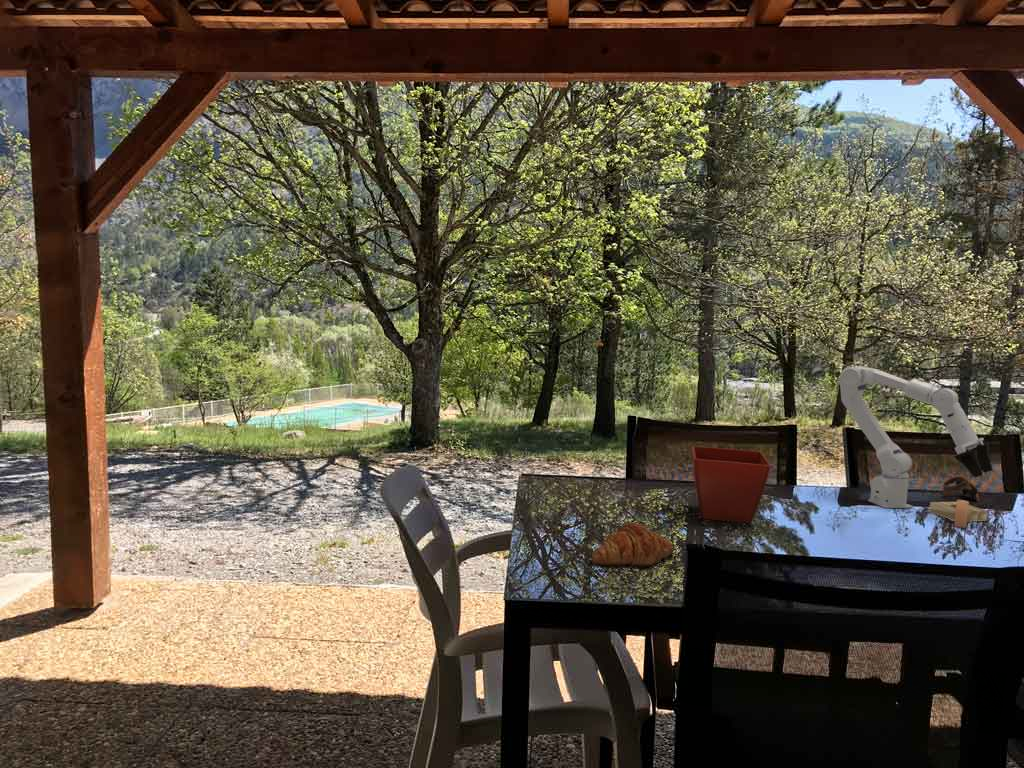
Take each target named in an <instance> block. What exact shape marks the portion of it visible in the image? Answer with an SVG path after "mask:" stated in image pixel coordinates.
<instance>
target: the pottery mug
mask: <svg viewBox="0 0 1024 768" xmlns="http://www.w3.org/2000/svg"><path fill="white" fill-rule="evenodd" d="M953 483H955V484H954V485H951V484H953ZM942 487H943V488H942V495H943V497H946V495H955V494H960V495H967V494H968V498H969V499H975V501H976V502H977V501H979V502H980V497H979V491H978V488H977V486H976V485H975V484H974V482H973V481H971V480H969V479H968V478H967V477H966V476H963V475H959V476H957V475H956V476H953V477H950V478H948V479H947V480H945V481H944V482H943V485H942Z"/></svg>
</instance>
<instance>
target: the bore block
mask: <svg viewBox="0 0 1024 768" xmlns="http://www.w3.org/2000/svg"><path fill="white" fill-rule="evenodd" d="M956 505H957V501H930V502H929V511H928V512H929V513H930V512H931V513H930V514H933V513H934V515H936V514H937V515H936V516H938V515H940V516H939V517H941V516H943V517H942V518H944V517H945V518H944V519H946V518H948V519H947V520H949V519H950V521H952V522H954V521H955V514H956ZM988 514H989V513H988V510H985V509H982V508H979V507H976V506H974V505H970V504H969V506H968V515H967V523H973V522H972V521H987V519H988Z"/></svg>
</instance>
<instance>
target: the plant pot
mask: <svg viewBox="0 0 1024 768" xmlns="http://www.w3.org/2000/svg"><path fill="white" fill-rule="evenodd" d="M691 454H692V455H691V456H692V468H693V478H694V485H695V491H696V498H697V504H698V509H699V513H700V517H701V518H702V519H706V520H715V521H722V522H723V521H724V522H734V523H742V522H745V524H751V523H752V521H753V519H754V516H755V515H756V512H757V510H758V509H759V508H758V507H759V505H760V503H761V501H762V497H763V494H764V491H765V488H766V484H767V482H768V478H769V474H770V469H771V463H770V462H769V461H768V459H767V458H766V457H765V455H764V453H763V452H761V451H759V450H758V451H756V450H746V449H732V448H723V447H722V448H721V447H712V446H711V447H708V446H699V445H697V446H696V445H694V446H692V447H691ZM750 522H751V523H750Z"/></svg>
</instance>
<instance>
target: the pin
mask: <svg viewBox="0 0 1024 768" xmlns="http://www.w3.org/2000/svg"><path fill="white" fill-rule="evenodd" d="M956 502H957V505H956V514H955V522H954V524H953V525H954V527H956V526H957V527H956V528H961V529H966V528H967V524H968V522H967V515H968V506H969V505H970V502H969V501H968V500H963V499H957V500H956Z"/></svg>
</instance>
